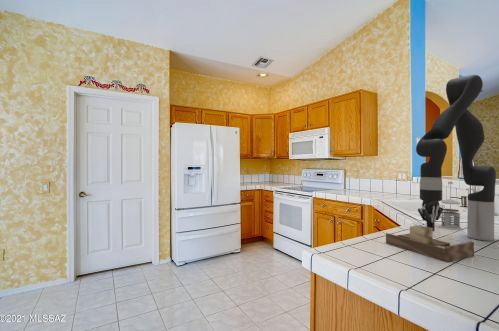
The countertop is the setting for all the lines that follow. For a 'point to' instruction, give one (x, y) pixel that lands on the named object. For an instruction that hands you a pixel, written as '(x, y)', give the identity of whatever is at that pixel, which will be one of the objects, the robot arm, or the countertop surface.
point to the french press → (447, 220)
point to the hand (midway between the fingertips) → (430, 231)
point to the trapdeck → (433, 247)
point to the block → (421, 234)
